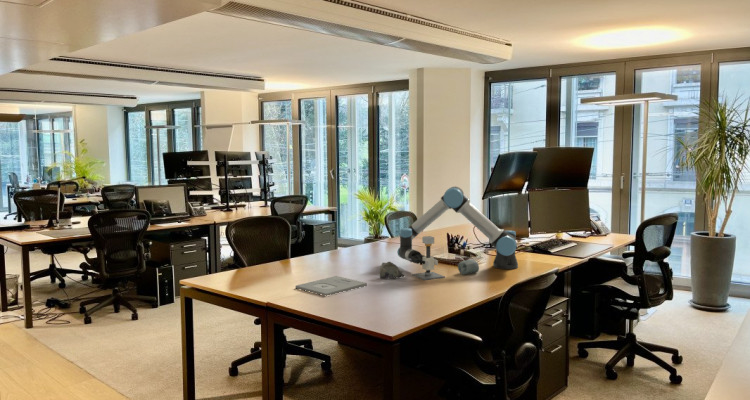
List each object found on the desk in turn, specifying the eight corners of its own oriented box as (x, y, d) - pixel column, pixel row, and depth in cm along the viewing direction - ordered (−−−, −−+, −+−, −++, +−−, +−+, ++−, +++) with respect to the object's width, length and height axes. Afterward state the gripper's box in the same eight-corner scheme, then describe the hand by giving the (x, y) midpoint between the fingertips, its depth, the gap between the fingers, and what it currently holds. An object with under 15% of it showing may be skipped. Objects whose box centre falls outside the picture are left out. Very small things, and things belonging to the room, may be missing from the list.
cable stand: (411, 275, 335) (412, 236, 333) (432, 272, 341) (432, 234, 338) (423, 280, 322) (423, 239, 320) (444, 277, 328) (445, 237, 326)
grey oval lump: (464, 271, 329) (463, 255, 333) (455, 276, 337) (453, 260, 341) (483, 274, 335) (481, 258, 339) (473, 279, 343) (472, 263, 347)
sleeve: (422, 268, 332) (422, 256, 332) (429, 267, 334) (429, 256, 334) (426, 270, 328) (426, 258, 327) (434, 269, 330) (434, 257, 329)
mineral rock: (405, 279, 325) (405, 262, 324) (391, 282, 318) (391, 264, 317) (391, 275, 335) (391, 258, 334) (376, 278, 329) (376, 261, 328)
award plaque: (366, 286, 311) (366, 282, 311) (326, 297, 289) (326, 293, 289) (336, 279, 327) (336, 275, 327) (295, 289, 306) (295, 285, 305)
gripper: (426, 260, 351) (446, 268, 330) (400, 263, 344) (419, 271, 323) (426, 248, 350) (446, 255, 329) (400, 251, 343) (419, 258, 322)
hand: (432, 263), depth 326 cm, fingers closed on sleeve, 5 cm apart
